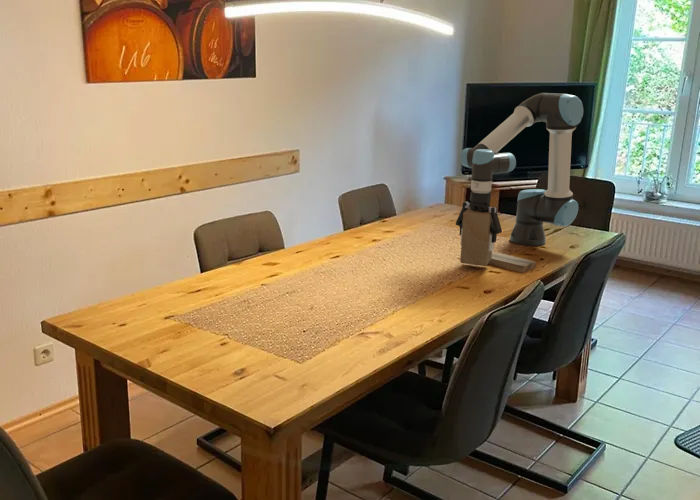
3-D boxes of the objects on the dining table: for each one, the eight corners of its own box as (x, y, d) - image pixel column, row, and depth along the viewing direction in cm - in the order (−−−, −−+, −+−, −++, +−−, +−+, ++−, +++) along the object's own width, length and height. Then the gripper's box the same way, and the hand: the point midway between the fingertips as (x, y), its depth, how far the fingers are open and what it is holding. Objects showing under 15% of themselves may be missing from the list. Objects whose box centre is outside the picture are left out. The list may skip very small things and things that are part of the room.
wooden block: (486, 266, 259) (489, 215, 253) (459, 263, 263) (463, 212, 257) (491, 259, 268) (495, 209, 262) (466, 256, 271) (469, 206, 266)
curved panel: (474, 252, 286) (474, 244, 285) (535, 267, 267) (535, 259, 266) (461, 257, 279) (462, 248, 278) (523, 272, 261) (524, 263, 260)
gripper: (448, 188, 263) (445, 242, 269) (503, 197, 247) (499, 255, 253) (459, 185, 268) (456, 239, 274) (514, 194, 252) (509, 251, 259)
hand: (476, 247), depth 264 cm, fingers closed on wooden block, 12 cm apart
